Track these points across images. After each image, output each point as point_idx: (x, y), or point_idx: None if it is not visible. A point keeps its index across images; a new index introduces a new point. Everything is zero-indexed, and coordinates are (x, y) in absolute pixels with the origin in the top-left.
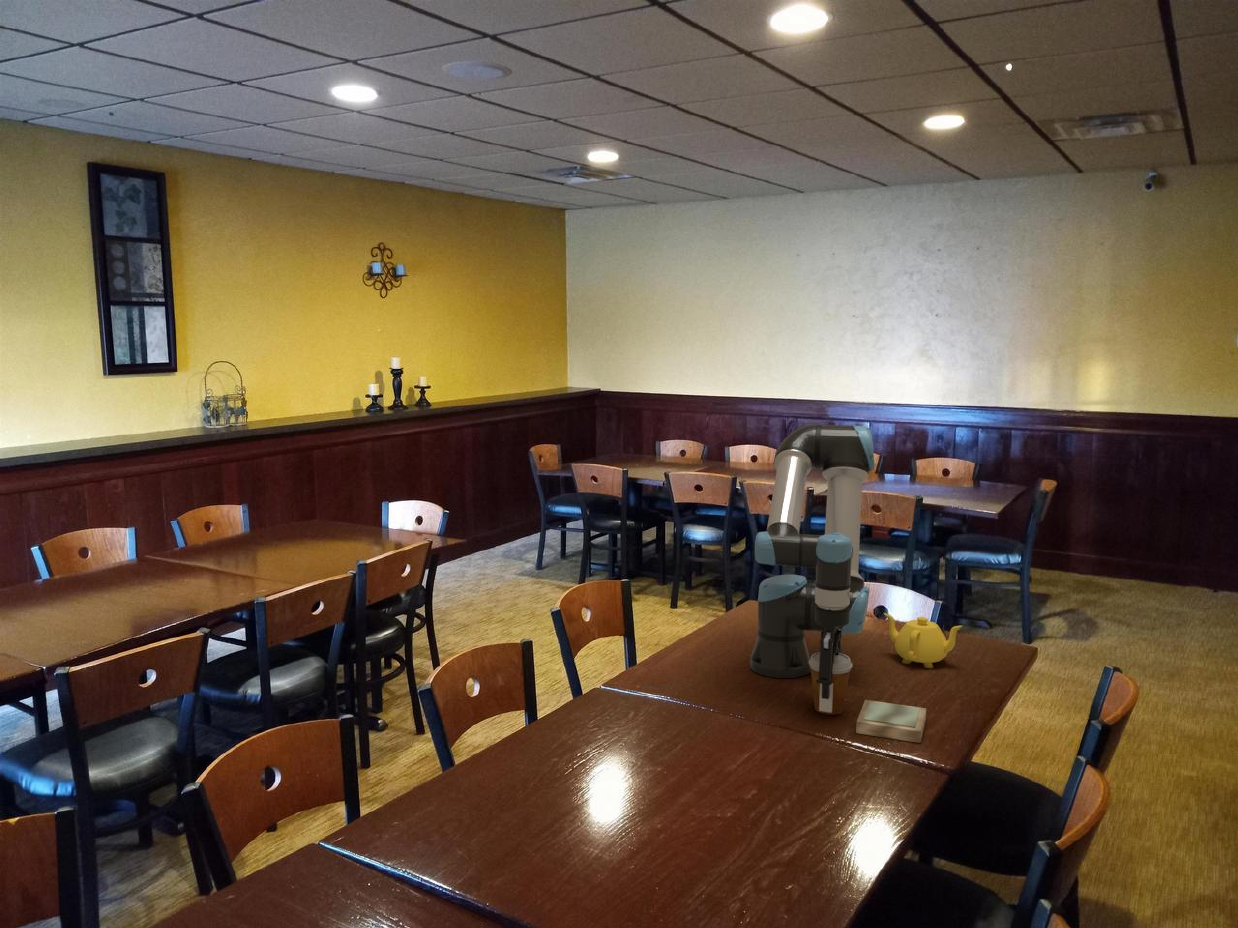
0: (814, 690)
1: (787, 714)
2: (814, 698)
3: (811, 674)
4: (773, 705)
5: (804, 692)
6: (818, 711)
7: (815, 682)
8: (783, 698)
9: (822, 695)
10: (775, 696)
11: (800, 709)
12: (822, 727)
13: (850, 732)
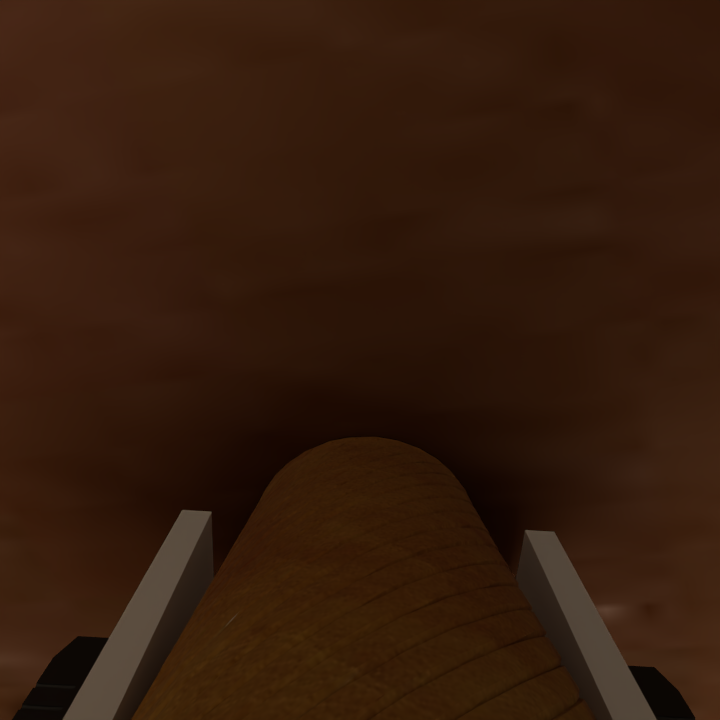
0: (249, 556)
1: (121, 235)
2: (294, 493)
3: (281, 676)
4: (285, 55)
5: (709, 308)
6: (277, 474)
7: (173, 668)
8: (508, 129)
9: (49, 672)
10: (545, 28)
11: (283, 329)
12: (5, 525)
13: (23, 680)
